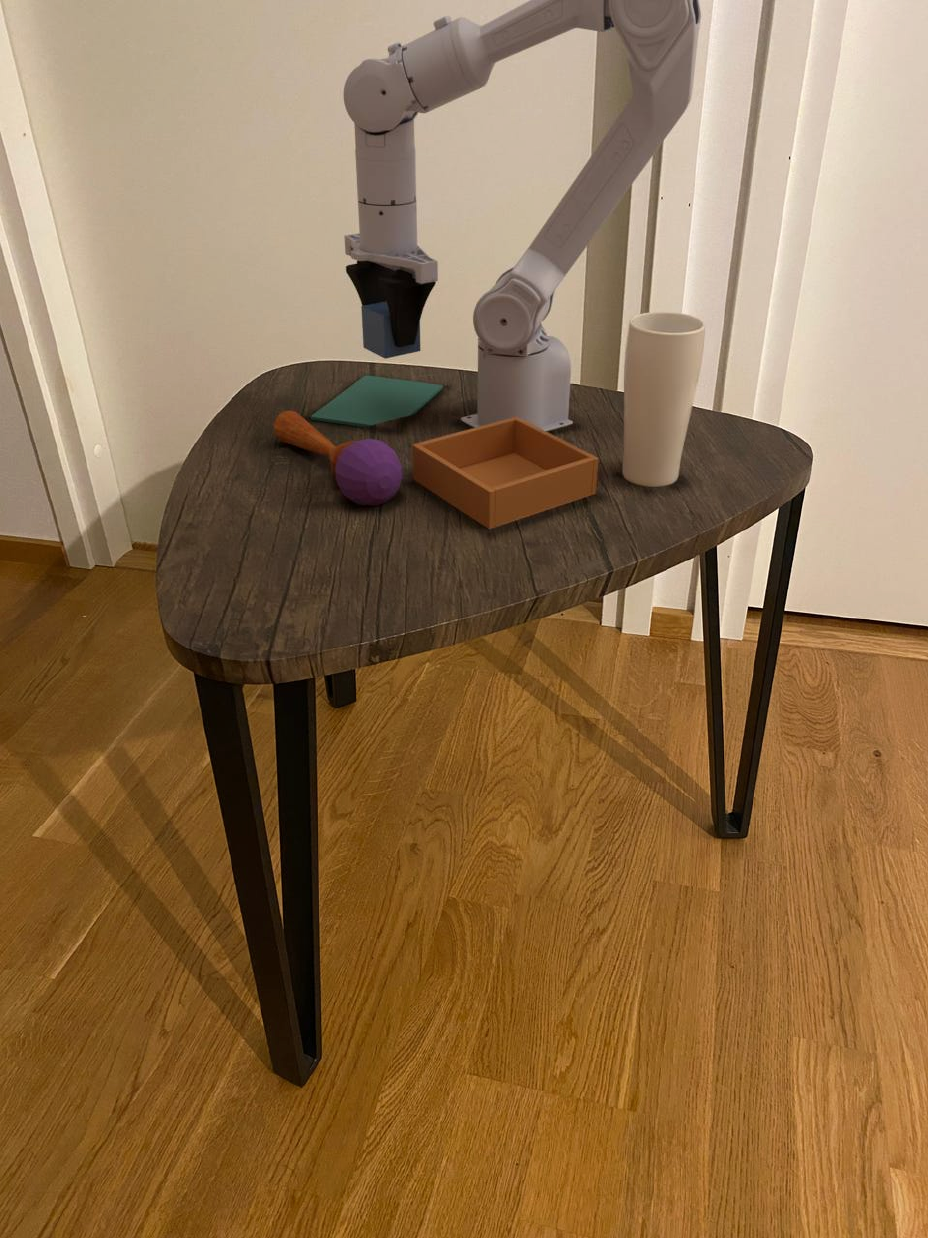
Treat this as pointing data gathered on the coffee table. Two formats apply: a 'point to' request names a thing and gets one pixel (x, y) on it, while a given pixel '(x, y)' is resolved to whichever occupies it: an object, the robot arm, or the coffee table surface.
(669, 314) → the white vase
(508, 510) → the bin
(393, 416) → the mat
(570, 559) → the coffee table surface
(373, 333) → the block
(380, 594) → the coffee table surface
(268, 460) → the coffee table surface
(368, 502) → the maraca
